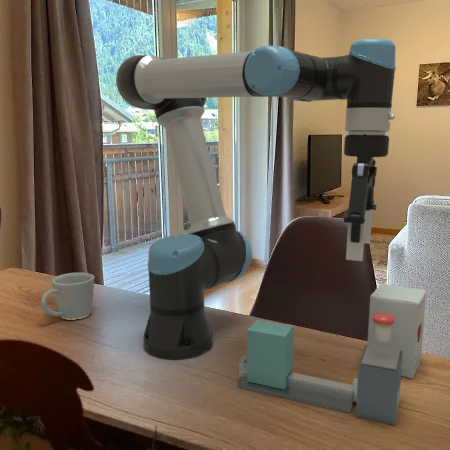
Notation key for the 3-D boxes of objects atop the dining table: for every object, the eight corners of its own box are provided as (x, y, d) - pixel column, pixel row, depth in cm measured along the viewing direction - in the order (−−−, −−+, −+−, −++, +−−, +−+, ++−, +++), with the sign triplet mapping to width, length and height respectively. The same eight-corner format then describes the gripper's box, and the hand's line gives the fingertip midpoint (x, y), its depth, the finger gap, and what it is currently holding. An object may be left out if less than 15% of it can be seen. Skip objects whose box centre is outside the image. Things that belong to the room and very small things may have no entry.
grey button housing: (356, 416, 75) (358, 363, 74) (363, 392, 82) (365, 342, 81) (395, 425, 73) (398, 370, 71) (399, 399, 80) (402, 349, 78)
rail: (233, 386, 85) (233, 366, 84) (247, 369, 91) (247, 350, 90) (355, 414, 76) (356, 392, 75) (361, 393, 82) (362, 372, 81)
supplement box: (413, 380, 86) (419, 303, 84) (365, 368, 91) (368, 295, 88) (422, 360, 94) (427, 289, 91) (377, 350, 99) (380, 282, 96)
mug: (105, 312, 121) (103, 275, 119) (57, 333, 109) (54, 292, 107) (78, 305, 127) (75, 270, 125) (29, 324, 114) (26, 285, 112)
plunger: (370, 340, 75) (371, 318, 74) (372, 332, 78) (374, 311, 77) (392, 344, 73) (393, 321, 72) (394, 336, 76) (395, 314, 76)
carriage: (247, 381, 85) (247, 330, 83) (257, 369, 89) (257, 320, 87) (284, 390, 82) (285, 336, 80) (292, 377, 86) (293, 326, 84)
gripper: (384, 134, 69) (374, 271, 74) (393, 133, 92) (384, 238, 96) (333, 133, 72) (326, 265, 76) (353, 133, 95) (347, 235, 99)
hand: (358, 250), depth 86 cm, fingers open, 13 cm apart
